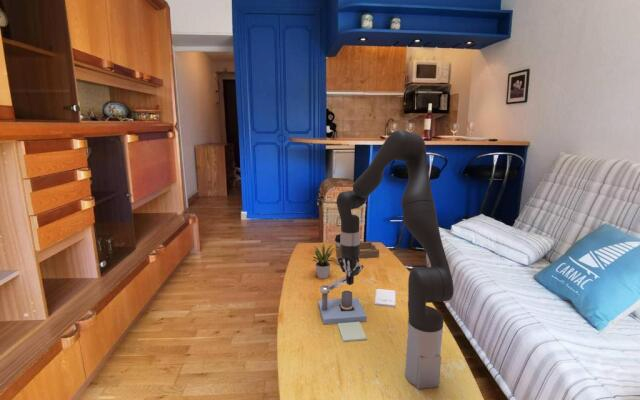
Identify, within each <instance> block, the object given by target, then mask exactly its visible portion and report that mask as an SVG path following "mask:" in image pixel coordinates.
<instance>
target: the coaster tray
mask: <svg viewBox="0 0 640 400" xmlns="http://www.w3.org/2000/svg"><path fill="white" fill-rule="evenodd" d="M358 258H359V259H373V258H374V259H375V258H376V259H377V258H380V250H379V248H378V247H377V246H376V245H375V243H374V242H373V241H362V242H361V241H360V254H359V256H358Z"/></svg>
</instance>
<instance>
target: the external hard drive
mask: <svg viewBox="0 0 640 400" xmlns="http://www.w3.org/2000/svg"><path fill="white" fill-rule="evenodd" d="M396 293H397V292H396V290H393V289H383V288H376V289H375V296H374V297H375V298H374V306H378V307H388V308H396V305H397V304H396Z"/></svg>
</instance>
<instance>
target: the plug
mask: <svg viewBox="0 0 640 400" xmlns="http://www.w3.org/2000/svg"><path fill="white" fill-rule="evenodd" d="M352 298H353V292H352V291H351V290H344V291H341V299H342V304H341V312H342V311H353V310H352V308H353V305H352Z"/></svg>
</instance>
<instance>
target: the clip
mask: <svg viewBox="0 0 640 400" xmlns="http://www.w3.org/2000/svg"><path fill="white" fill-rule="evenodd" d="M345 283H346V284H347V282H346V275H345V276H343V277H340V278H339V279H336V280H335V281H332V282H330V283H328V284H324V285H321V286H320V287H319V292H320V293H321V294H322V293H323V294H327V293H328V294H329V293H330V291H333V290H334V289H336V288H338V287H340V286H341V285H344V284H345Z"/></svg>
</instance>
